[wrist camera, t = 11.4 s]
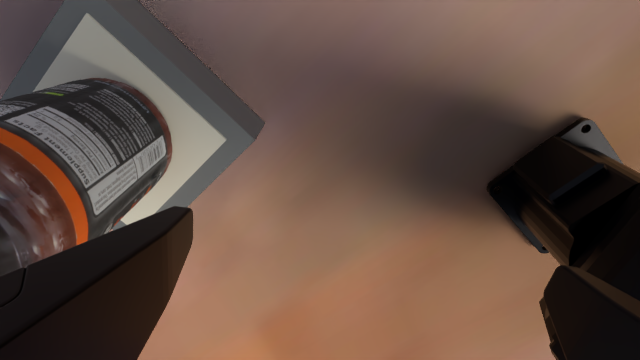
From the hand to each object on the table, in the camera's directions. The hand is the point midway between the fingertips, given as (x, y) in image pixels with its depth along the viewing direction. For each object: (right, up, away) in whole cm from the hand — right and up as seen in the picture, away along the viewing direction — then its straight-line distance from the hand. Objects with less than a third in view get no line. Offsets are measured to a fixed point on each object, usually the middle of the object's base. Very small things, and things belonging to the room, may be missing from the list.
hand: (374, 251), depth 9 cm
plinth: (-12, +5, +12) cm, 18 cm away
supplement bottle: (-11, +4, +10) cm, 16 cm away
